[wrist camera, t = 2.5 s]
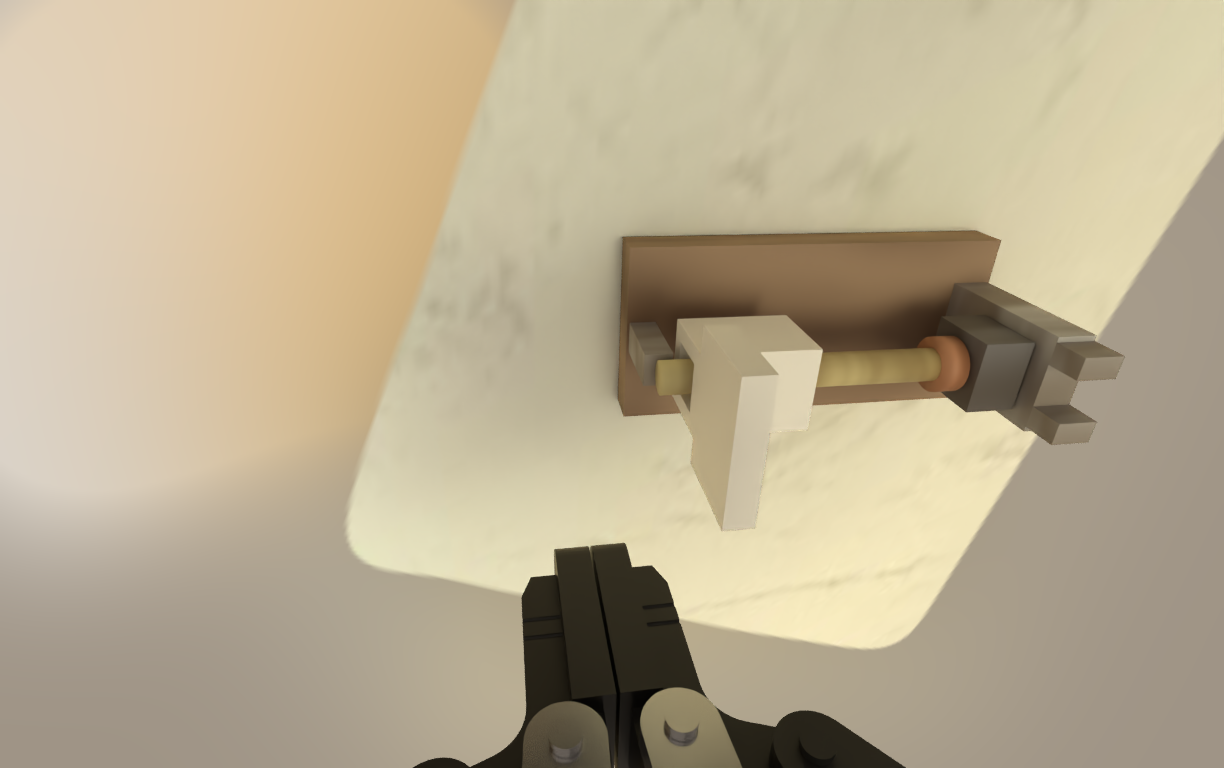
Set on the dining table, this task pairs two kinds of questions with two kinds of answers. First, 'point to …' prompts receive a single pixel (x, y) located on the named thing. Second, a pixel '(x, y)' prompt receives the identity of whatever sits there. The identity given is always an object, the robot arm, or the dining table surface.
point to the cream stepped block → (743, 402)
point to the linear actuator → (862, 322)
